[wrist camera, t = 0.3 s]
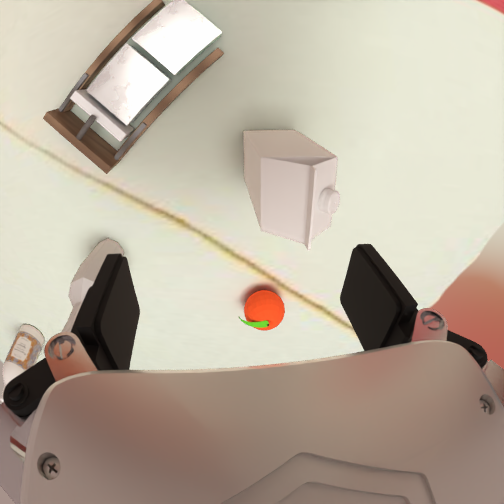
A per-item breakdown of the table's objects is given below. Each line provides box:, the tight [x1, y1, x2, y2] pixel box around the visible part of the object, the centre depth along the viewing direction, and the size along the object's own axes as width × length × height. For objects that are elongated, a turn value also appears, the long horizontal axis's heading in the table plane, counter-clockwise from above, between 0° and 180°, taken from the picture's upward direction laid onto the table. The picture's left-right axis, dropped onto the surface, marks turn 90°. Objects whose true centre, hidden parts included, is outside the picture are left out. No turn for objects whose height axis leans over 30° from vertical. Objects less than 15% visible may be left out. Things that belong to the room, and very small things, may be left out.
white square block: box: [86, 43, 172, 125], centre depth 29 cm, size 8×8×4 cm
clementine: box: [239, 290, 285, 330], centre depth 49 cm, size 8×7×7 cm
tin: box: [131, 0, 222, 75], centre depth 27 cm, size 8×8×4 cm
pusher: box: [70, 89, 134, 142], centre depth 30 cm, size 1×9×4 cm, turn 42°
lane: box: [43, 0, 224, 174], centre depth 28 cm, size 20×12×6 cm, turn 132°
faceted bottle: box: [62, 238, 124, 332], centre depth 34 cm, size 6×6×22 cm
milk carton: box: [243, 130, 340, 250], centre depth 31 cm, size 7×7×19 cm
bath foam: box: [0, 324, 44, 402], centre depth 43 cm, size 7×7×20 cm
